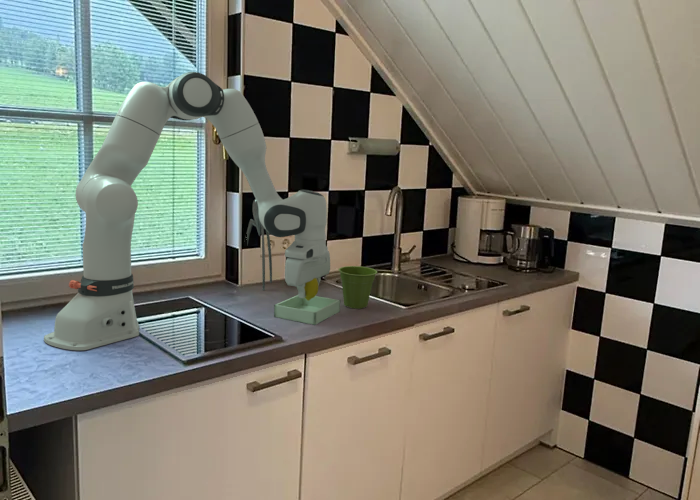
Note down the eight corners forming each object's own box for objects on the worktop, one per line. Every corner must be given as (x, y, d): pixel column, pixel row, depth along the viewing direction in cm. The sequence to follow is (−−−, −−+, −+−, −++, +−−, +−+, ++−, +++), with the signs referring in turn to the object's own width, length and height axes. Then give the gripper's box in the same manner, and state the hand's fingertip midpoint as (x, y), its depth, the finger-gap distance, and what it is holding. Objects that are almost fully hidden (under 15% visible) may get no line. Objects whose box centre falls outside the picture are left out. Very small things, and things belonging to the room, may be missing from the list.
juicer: (272, 282, 205) (274, 196, 200) (264, 290, 195) (266, 199, 189) (244, 280, 206) (245, 194, 201) (235, 288, 195) (236, 197, 190)
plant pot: (347, 313, 175) (349, 276, 172) (330, 302, 185) (331, 267, 183) (382, 309, 180) (384, 273, 178) (363, 299, 190) (365, 265, 188)
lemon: (314, 297, 174) (315, 271, 173) (320, 302, 169) (321, 275, 168) (296, 298, 173) (297, 271, 171) (301, 303, 167) (302, 276, 166)
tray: (314, 325, 162) (315, 312, 161) (273, 316, 168) (274, 304, 167) (339, 311, 176) (340, 300, 175) (301, 304, 181) (301, 293, 180)
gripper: (317, 241, 178) (316, 285, 181) (281, 251, 160) (280, 301, 163) (336, 243, 176) (334, 288, 178) (301, 254, 158) (300, 304, 160)
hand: (308, 294), depth 171 cm, fingers closed on lemon, 5 cm apart
